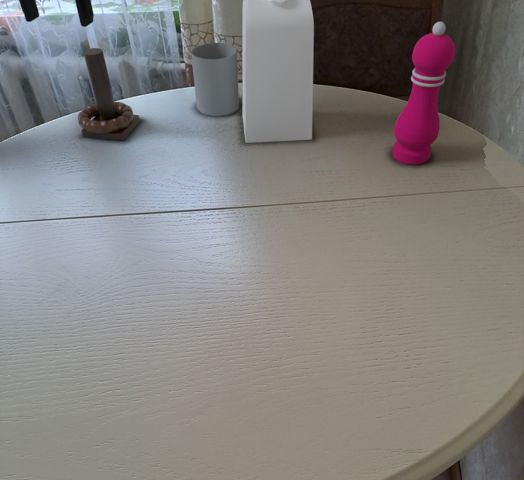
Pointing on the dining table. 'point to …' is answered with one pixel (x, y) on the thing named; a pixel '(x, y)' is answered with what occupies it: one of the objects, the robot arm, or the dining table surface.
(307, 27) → the milk
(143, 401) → the dining table surface
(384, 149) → the dining table surface
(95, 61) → the brown post
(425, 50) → the pepper mill
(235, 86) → the cup
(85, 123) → the ring
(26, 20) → the robot arm
